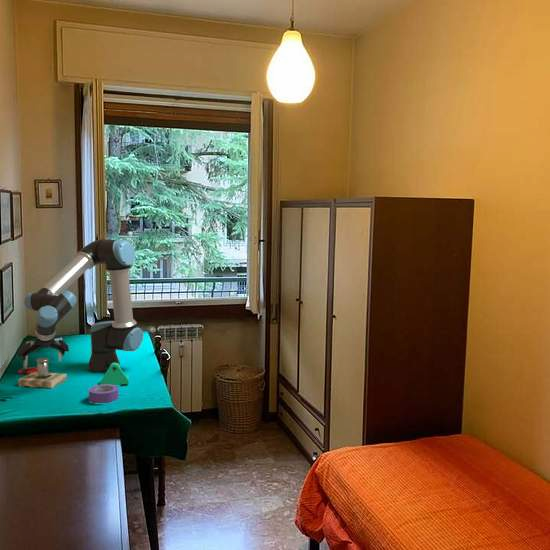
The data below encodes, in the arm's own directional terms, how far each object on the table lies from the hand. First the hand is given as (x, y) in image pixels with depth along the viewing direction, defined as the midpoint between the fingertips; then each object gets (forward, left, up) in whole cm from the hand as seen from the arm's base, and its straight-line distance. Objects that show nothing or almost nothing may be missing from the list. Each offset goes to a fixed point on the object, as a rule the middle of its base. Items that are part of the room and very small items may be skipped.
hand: (42, 360), depth 238 cm
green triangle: (-28, -11, -12) cm, 33 cm away
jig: (+3, -4, -12) cm, 13 cm away
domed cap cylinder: (+3, -5, -12) cm, 13 cm away
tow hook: (+20, -19, -12) cm, 30 cm away
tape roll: (-34, +10, -12) cm, 37 cm away
